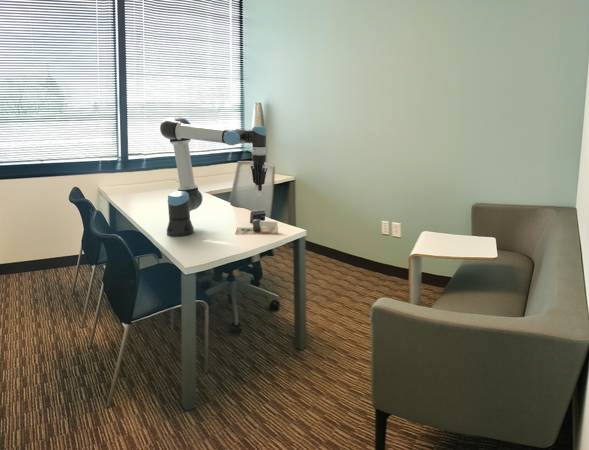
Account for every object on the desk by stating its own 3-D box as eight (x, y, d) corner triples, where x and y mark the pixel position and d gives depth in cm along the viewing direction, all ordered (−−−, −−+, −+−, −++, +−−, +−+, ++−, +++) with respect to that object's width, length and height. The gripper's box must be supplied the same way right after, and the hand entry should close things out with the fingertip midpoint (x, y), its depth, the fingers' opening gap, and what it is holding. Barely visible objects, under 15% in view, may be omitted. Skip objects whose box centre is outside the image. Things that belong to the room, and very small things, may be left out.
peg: (240, 230, 280) (239, 219, 279) (242, 228, 284) (242, 218, 283) (275, 232, 275) (275, 222, 273) (278, 230, 279) (277, 220, 278)
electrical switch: (263, 222, 304) (263, 208, 301) (266, 225, 299) (266, 211, 296) (249, 224, 300) (249, 210, 297) (252, 227, 296) (252, 212, 293)
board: (234, 236, 272) (234, 233, 272) (237, 229, 288) (237, 226, 287) (277, 236, 273) (277, 233, 272) (277, 229, 288) (277, 226, 288)
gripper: (246, 153, 273) (246, 194, 279) (260, 156, 264) (260, 198, 270) (257, 152, 278) (257, 193, 284) (271, 155, 268) (270, 197, 274)
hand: (258, 196), depth 277 cm, fingers closed
